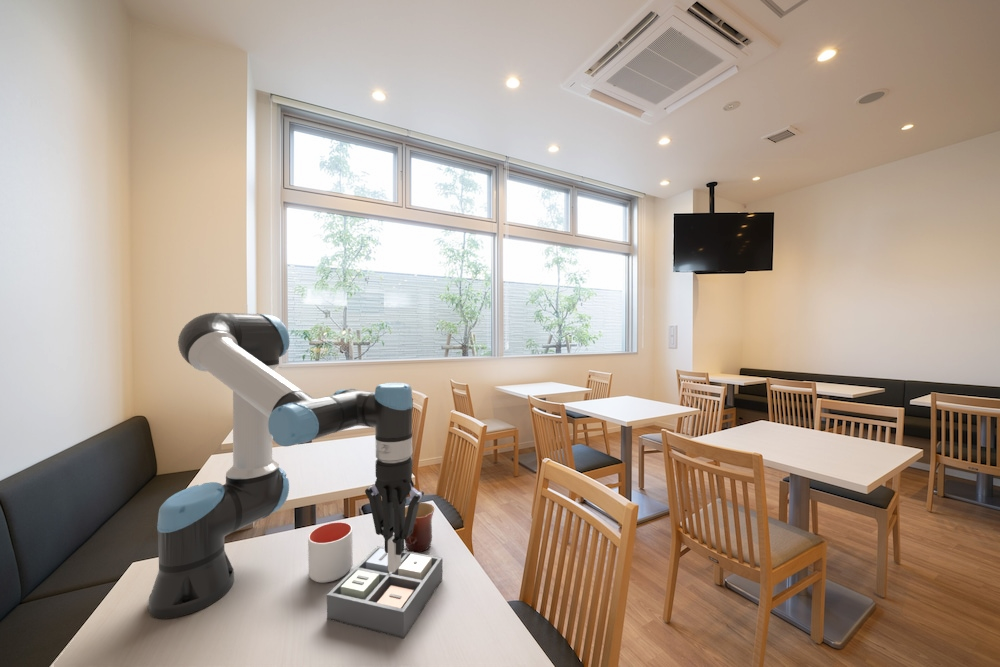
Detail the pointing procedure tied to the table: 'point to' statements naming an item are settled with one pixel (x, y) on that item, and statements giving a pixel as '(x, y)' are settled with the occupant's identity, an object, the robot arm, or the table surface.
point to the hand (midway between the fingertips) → (394, 567)
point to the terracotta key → (396, 596)
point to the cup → (330, 552)
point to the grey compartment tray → (383, 615)
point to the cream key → (415, 567)
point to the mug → (421, 529)
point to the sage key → (360, 584)
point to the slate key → (378, 561)
